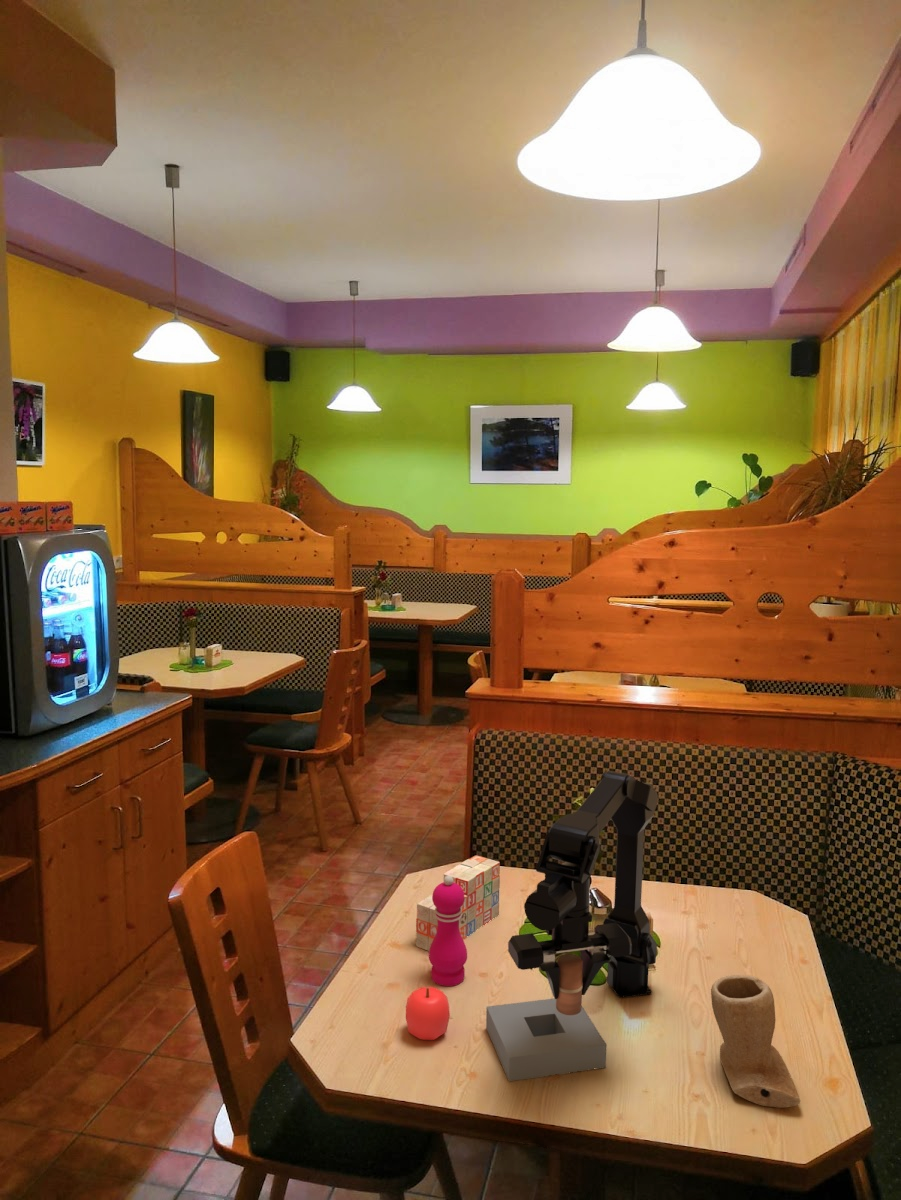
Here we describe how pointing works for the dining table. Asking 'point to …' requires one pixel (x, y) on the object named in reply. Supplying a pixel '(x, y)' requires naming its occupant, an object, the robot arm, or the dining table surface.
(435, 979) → the pepper mill
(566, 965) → the peg
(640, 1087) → the dining table surface
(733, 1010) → the clay pipe bowl
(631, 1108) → the dining table surface
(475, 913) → the stack of blocks
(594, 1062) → the hole block
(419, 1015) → the apple
